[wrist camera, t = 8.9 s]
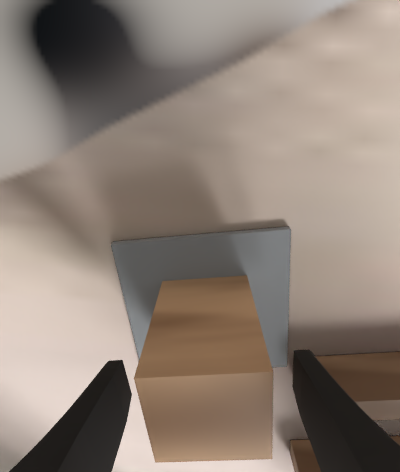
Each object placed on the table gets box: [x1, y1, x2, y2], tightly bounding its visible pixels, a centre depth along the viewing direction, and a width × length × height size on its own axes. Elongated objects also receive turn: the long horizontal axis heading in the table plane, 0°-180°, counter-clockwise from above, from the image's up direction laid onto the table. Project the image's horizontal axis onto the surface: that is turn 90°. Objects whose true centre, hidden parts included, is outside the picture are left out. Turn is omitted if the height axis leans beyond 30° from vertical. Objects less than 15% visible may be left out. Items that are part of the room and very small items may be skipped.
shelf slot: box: [290, 352, 400, 472], centre depth 17 cm, size 10×10×3 cm
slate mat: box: [111, 227, 291, 367], centre depth 15 cm, size 9×9×1 cm
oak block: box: [134, 275, 273, 462], centre depth 12 cm, size 4×4×6 cm
